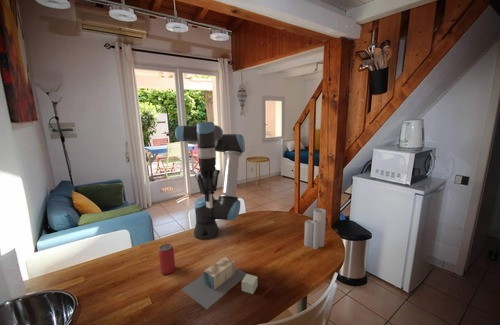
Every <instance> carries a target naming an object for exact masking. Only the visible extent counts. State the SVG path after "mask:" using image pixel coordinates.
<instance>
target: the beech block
mask: <svg viewBox="0 0 500 325" xmlns="http://www.w3.org/2000/svg"><path fill="white" fill-rule="evenodd" d="M235 268H236V262H235V261H234V260H232V259H231V258H229V257H227V256H224V257H222V258H221V259H219V260H218V261H217V262H215V263H213V264H212V265H211V266H209V267H208V268H206V269H205V270H204V271H203V274H202V275H204V284H205V285H207V286H208V287H210V288H211V289H213V290H215V289H216V288H217V287H218V286H220V285H221V284H222V283H223V282H225V281H226V280H227V279H228V278H230V277H231V276H232V275H234V274H235Z"/></svg>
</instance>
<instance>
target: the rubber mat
mask: <svg viewBox="0 0 500 325" xmlns="http://www.w3.org/2000/svg"><path fill="white" fill-rule="evenodd" d="M246 274H247V273H246V272H244V271H242V270H240V269H238V268H237V267H235V274H234V275H232V276H231V277H230V278H228V279H227V280H226V281H225V282H223V283H222V284H221V285H220V286H218V287H217V288H216V289H215V290H213V289H211V288H210V287H208V286H207V285H205V284H204V275H203V274H202V275H200V276H198V277H197V278H196V279H194V280H193V281H192V282H190V283H189V284H187V285H186V286H184V287H183V288H181V291H182V292H183V293H184V294H186V295H187V296H189V297H190V298H191V299H192V300H193V301H195V302H197V303H198V304H199V305H200V306H202V307H203V308H204V309H205V310H208V309H209V308H210V307H211V306H213V305H214V304H215V303H216V302H218V300H220V299H221V298H222V297H224V295H225V294H227V293H229V291H231V289H233V288H234V287H235V286H237V284H238V283H240V282H242V280H243V278H244V277H245V275H246Z"/></svg>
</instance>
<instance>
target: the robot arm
mask: <svg viewBox="0 0 500 325" xmlns="http://www.w3.org/2000/svg"><path fill="white" fill-rule="evenodd" d="M174 134H175V138H176V140H177V141H179V142H189V143H193V144H196V145H197V157H198V158H197V159H198V166H199V170H198V173H196V174H194V177H195V179H196V181H197V184H198V188H199V192H200V194H201V195H204V196H200V197H199V198H197V199H196V200H195V201H194V210H195V213H194V214H195V227H194V230H193V237H194V238H195V239H198V240H201V241H207V240H211V239H214V238H216V237H217V236H218V235H219V234H220V229H219V226H218V225H217V221H216V220H219V221H220V220H222V221H223V220H224V221H235V220H237V218H238V217H239V214H240V211H241V200H239V196H238V195H237V187H238V186H237V185H238V173H239V163H240V162H239V161H240V158H241V157H242V155H243V153H245V152H246V143H245V138H244V136H243V134H238V133H230V134H229V133H224V130H223V129H222V127H221V126H220V125H216V124H215V123H214V122H213V121H198V122H197V123H196V125H178V126H176V128H175V130H174ZM216 152H218V153H223V155H224V156H225V159H224V170H223V178H222V186H221V187H222V188H221V194H219V196H218V198H217V199H216V198H215V196H214V194H215V192H216V191H217V187H218V181H219V175H220V172H221V171H220V170H219V169H216V165H217V162H216V161H217V158H216Z"/></svg>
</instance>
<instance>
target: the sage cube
mask: <svg viewBox="0 0 500 325" xmlns="http://www.w3.org/2000/svg"><path fill="white" fill-rule="evenodd" d="M258 282H259V281H258V276H256V275H252V274H249V273H246V275H245V277H244V278H243V279H242V280H241V291H242V292H244V293H249V294H252V295H254V293H255V292H256V289H257V288H258V286H259V285H258Z"/></svg>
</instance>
